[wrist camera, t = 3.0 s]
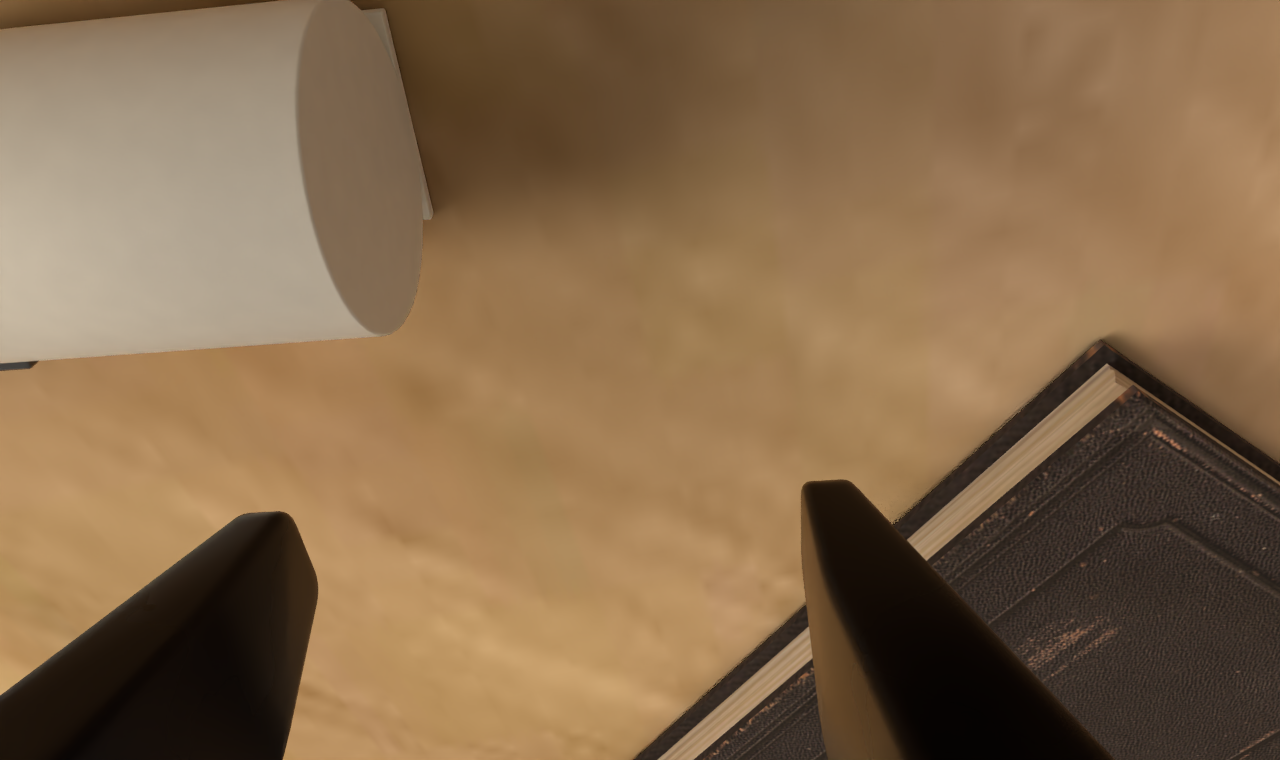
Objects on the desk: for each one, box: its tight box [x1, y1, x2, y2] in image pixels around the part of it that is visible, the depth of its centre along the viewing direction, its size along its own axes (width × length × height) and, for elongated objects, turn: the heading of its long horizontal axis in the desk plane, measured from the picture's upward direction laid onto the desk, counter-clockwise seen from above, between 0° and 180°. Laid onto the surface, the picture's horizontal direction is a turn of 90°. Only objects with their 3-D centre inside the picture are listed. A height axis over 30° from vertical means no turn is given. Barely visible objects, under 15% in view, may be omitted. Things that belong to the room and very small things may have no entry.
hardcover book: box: [634, 340, 1280, 760], centre depth 29 cm, size 16×23×2 cm
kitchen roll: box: [0, 0, 434, 363], centre depth 18 cm, size 10×6×6 cm, turn 96°
